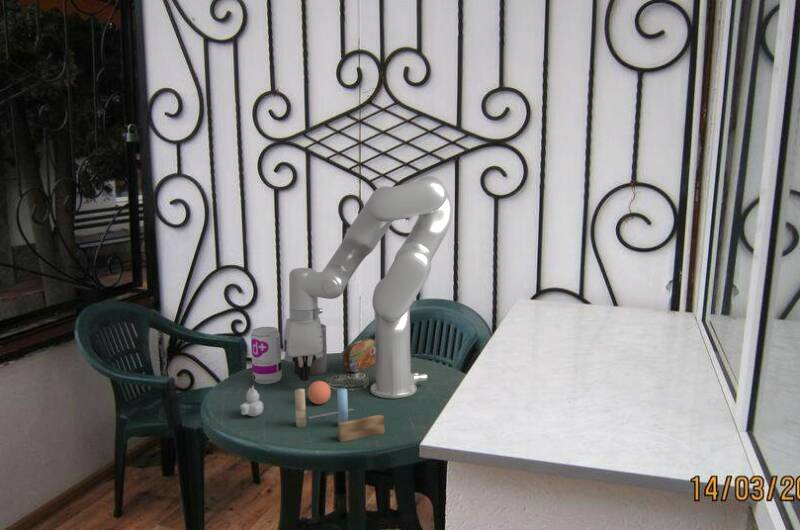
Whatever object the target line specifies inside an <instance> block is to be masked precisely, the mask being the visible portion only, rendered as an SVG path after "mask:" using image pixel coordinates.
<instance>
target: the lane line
mask: <svg viewBox="0 0 800 530" xmlns="http://www.w3.org/2000/svg"><path fill="white" fill-rule="evenodd" d="M353 411H354V412H355V409H354V408H348V413H349V412H353ZM333 415H338V410H337V411H332V412H327V413H322V414H316V415H312V416H311V415H310V416H307V419H308V420H311V419H315V418H316V419H317V418H322V417H323V418H324V417H328V416H333Z"/></svg>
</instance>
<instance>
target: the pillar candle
mask: <svg viewBox="0 0 800 530" xmlns="http://www.w3.org/2000/svg"><path fill="white" fill-rule="evenodd" d="M321 328H322V335H323V351H322V352H323V356H322V357H320V358H317V359H315V360H314V361H313V363H312V365H311V366H310V376H309V377H311V376H319V375H322V374H324V373H326V372H327V371H328V360H327V359H328V356H327V355H328V353H327V325H325V324H323V323H321ZM302 360H303V364H304V360H305V356H302ZM294 373H296V374H297V375H298V365H297V364H296V363H295V362H294Z"/></svg>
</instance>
